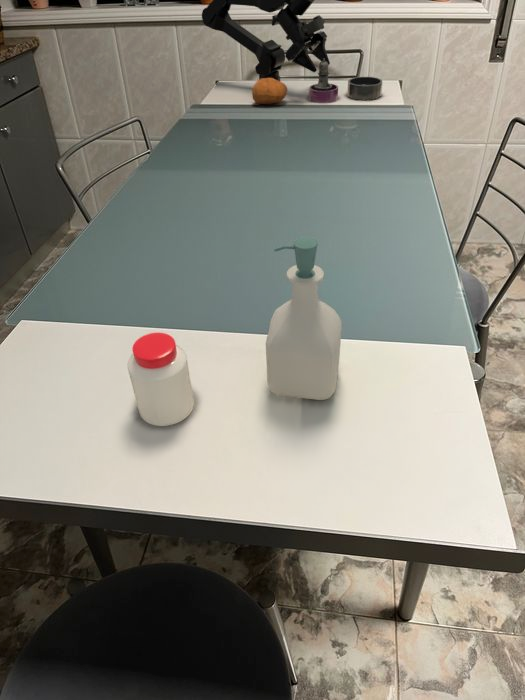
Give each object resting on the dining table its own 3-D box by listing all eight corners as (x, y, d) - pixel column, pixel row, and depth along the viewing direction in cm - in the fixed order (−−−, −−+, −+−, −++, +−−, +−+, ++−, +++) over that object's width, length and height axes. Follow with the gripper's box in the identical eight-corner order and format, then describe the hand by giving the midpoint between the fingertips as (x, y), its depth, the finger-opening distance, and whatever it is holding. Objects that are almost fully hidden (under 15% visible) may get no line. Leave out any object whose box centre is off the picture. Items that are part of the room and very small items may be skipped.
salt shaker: (314, 94, 188) (315, 55, 180) (332, 94, 187) (333, 55, 179) (313, 99, 183) (313, 60, 176) (330, 100, 182) (332, 60, 175)
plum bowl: (304, 101, 183) (304, 90, 181) (314, 93, 190) (314, 82, 188) (332, 103, 180) (332, 92, 178) (341, 95, 187) (342, 84, 185)
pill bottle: (198, 387, 80) (189, 327, 73) (188, 427, 74) (176, 366, 67) (146, 385, 81) (132, 326, 74) (132, 424, 75) (115, 364, 68)
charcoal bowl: (342, 98, 184) (343, 84, 181) (352, 89, 192) (353, 75, 189) (375, 101, 180) (377, 87, 177) (384, 92, 188) (386, 77, 185)
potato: (256, 98, 188) (255, 74, 183) (289, 99, 186) (289, 75, 181) (250, 107, 181) (249, 82, 176) (284, 107, 179) (284, 83, 174)
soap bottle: (276, 356, 85) (273, 220, 70) (339, 362, 83) (349, 224, 69) (265, 400, 78) (258, 259, 63) (333, 407, 76) (342, 264, 62)
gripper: (293, 12, 165) (325, 56, 167) (322, 2, 177) (352, 43, 179) (272, 39, 173) (302, 81, 176) (301, 28, 185) (329, 67, 188)
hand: (322, 68), depth 179 cm, fingers open, 9 cm apart
